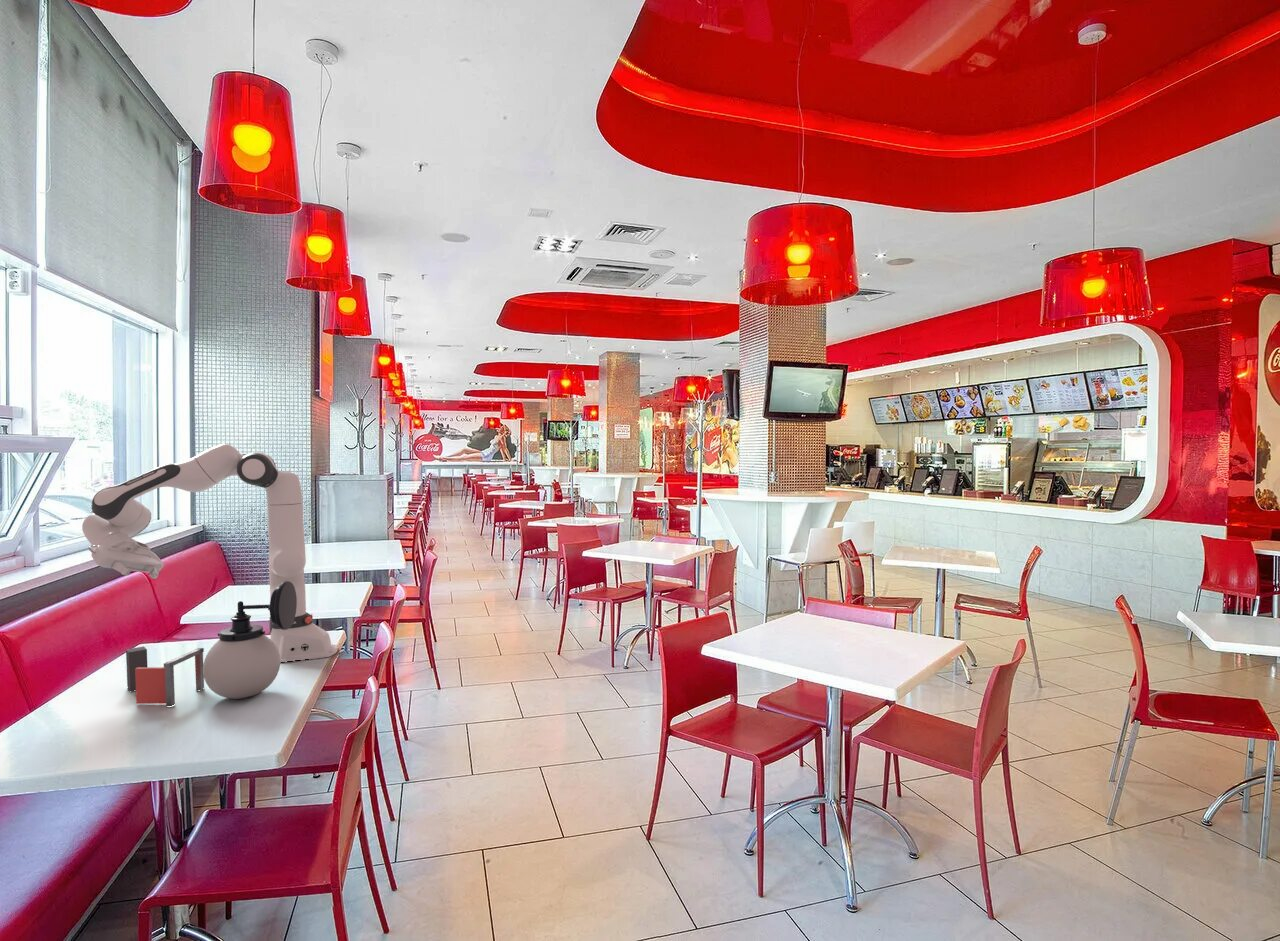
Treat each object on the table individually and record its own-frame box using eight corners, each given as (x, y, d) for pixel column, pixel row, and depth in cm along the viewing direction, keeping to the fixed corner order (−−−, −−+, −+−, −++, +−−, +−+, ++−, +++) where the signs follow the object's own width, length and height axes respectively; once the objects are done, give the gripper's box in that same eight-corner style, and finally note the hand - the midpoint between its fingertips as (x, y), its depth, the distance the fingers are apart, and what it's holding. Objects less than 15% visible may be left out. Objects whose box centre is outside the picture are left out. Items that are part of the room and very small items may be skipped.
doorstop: (145, 685, 222) (143, 646, 221) (148, 688, 219) (146, 649, 218) (127, 688, 219) (125, 649, 218) (130, 692, 215) (128, 652, 215)
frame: (170, 707, 202) (168, 663, 201) (165, 707, 202) (163, 663, 201) (205, 689, 217) (203, 647, 217) (200, 689, 217) (198, 647, 217)
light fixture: (223, 686, 219) (220, 577, 218) (303, 683, 221) (299, 575, 220) (190, 710, 200) (186, 591, 198) (277, 706, 202) (273, 588, 201)
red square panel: (173, 702, 205) (172, 667, 205) (171, 703, 204) (170, 668, 204) (138, 702, 205) (137, 667, 205) (136, 703, 204) (135, 668, 204)
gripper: (92, 536, 217) (115, 562, 212) (153, 546, 236) (176, 570, 231) (79, 553, 217) (102, 580, 212) (141, 562, 236) (164, 586, 231)
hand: (141, 575), depth 222 cm, fingers open, 8 cm apart
